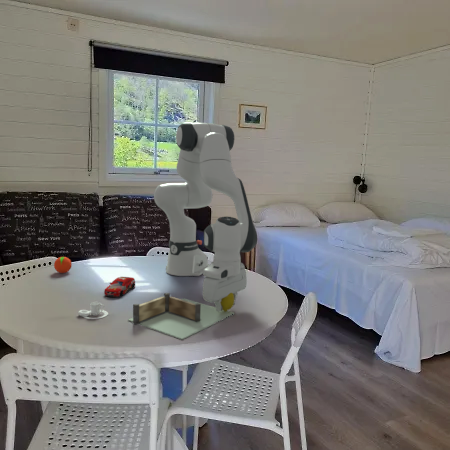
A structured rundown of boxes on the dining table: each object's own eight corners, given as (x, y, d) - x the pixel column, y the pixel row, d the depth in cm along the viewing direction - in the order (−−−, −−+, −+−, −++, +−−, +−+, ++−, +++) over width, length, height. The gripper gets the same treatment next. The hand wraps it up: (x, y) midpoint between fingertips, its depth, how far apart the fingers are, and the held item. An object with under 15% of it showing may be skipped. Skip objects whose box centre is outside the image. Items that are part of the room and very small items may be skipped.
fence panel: (168, 311, 141) (168, 296, 140) (171, 310, 142) (172, 294, 141) (197, 321, 133) (198, 305, 132) (201, 320, 134) (201, 304, 133)
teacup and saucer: (74, 318, 135) (74, 306, 135) (87, 310, 143) (87, 298, 143) (101, 321, 134) (101, 308, 133) (112, 312, 142) (112, 300, 141)
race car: (118, 300, 153) (117, 286, 153) (101, 297, 155) (100, 284, 154) (138, 286, 169) (138, 274, 168) (122, 284, 171) (122, 272, 170)
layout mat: (183, 299, 155) (183, 298, 155) (234, 314, 143) (234, 312, 143) (127, 321, 134) (127, 319, 134) (181, 340, 121) (181, 338, 121)
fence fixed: (166, 309, 144) (166, 292, 143) (170, 310, 143) (170, 293, 142) (131, 323, 131) (131, 304, 130) (136, 324, 130) (135, 306, 129)
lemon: (236, 313, 142) (236, 290, 141) (220, 315, 140) (220, 291, 139) (230, 307, 147) (231, 285, 146) (214, 309, 145) (215, 286, 144)
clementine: (70, 275, 180) (70, 258, 179) (52, 276, 178) (52, 259, 177) (72, 270, 187) (72, 254, 186) (55, 270, 186) (55, 254, 185)
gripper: (236, 260, 151) (235, 298, 154) (199, 271, 135) (198, 314, 137) (251, 263, 148) (250, 302, 150) (216, 275, 131) (214, 319, 133)
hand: (225, 308), depth 143 cm, fingers closed on lemon, 5 cm apart
